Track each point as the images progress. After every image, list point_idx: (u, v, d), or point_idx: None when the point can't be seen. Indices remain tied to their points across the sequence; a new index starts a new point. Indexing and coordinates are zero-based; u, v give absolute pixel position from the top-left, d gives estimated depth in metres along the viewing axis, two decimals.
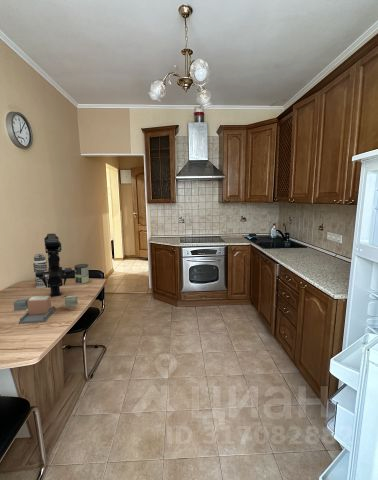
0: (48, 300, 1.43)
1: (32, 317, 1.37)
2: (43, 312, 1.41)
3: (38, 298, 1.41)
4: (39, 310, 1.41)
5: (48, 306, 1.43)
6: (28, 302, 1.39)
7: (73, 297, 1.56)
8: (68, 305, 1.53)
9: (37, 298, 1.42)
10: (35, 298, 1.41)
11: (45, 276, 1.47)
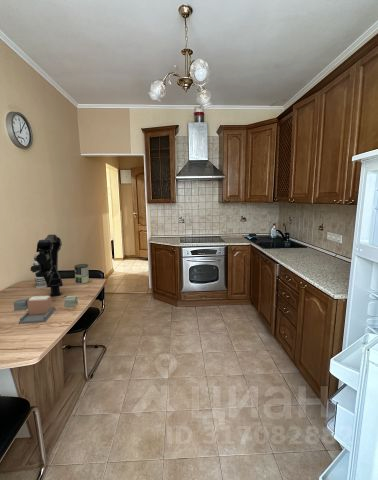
0: (48, 300, 1.43)
1: (32, 317, 1.37)
2: (43, 312, 1.41)
3: (38, 298, 1.41)
4: (39, 310, 1.41)
5: (48, 306, 1.43)
6: (28, 302, 1.39)
7: (73, 297, 1.56)
8: (68, 305, 1.53)
9: (37, 298, 1.42)
10: (35, 298, 1.41)
11: None
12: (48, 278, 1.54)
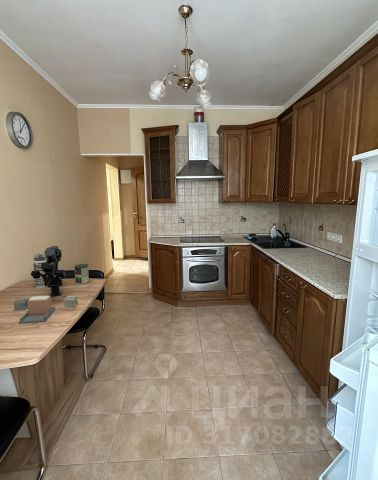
0: (48, 300, 1.43)
1: (32, 317, 1.37)
2: (43, 312, 1.41)
3: (38, 298, 1.41)
4: (39, 310, 1.41)
5: (48, 306, 1.43)
6: (28, 302, 1.39)
7: (73, 297, 1.56)
8: (68, 305, 1.53)
9: (37, 298, 1.42)
10: (35, 298, 1.41)
11: None
12: (50, 280, 1.55)
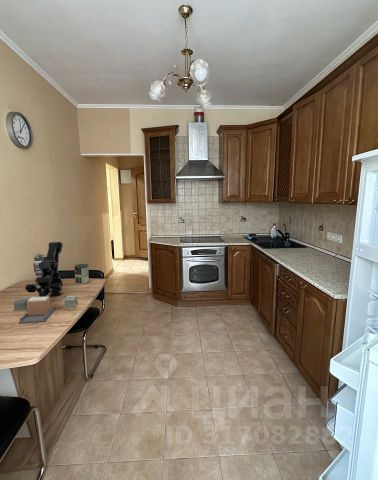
0: (47, 301, 1.42)
1: (32, 317, 1.37)
2: (42, 313, 1.40)
3: (37, 299, 1.39)
4: (39, 311, 1.39)
5: (47, 307, 1.42)
6: (27, 303, 1.38)
7: (73, 297, 1.56)
8: (68, 305, 1.53)
9: (36, 298, 1.41)
10: (34, 299, 1.40)
11: None
12: (45, 295, 1.48)
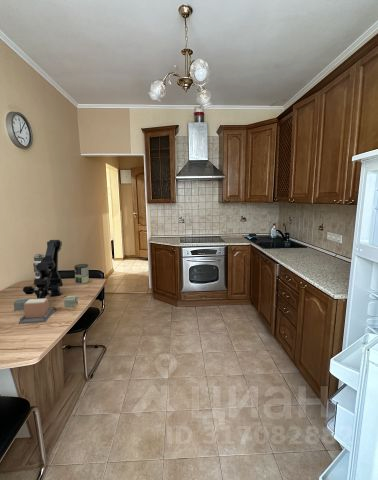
0: (45, 303, 1.39)
1: None
2: (40, 315, 1.37)
3: (35, 301, 1.37)
4: (36, 314, 1.36)
5: (45, 309, 1.39)
6: (25, 305, 1.35)
7: (73, 297, 1.56)
8: (68, 305, 1.53)
9: (34, 300, 1.38)
10: (32, 301, 1.37)
11: None
12: (43, 297, 1.45)
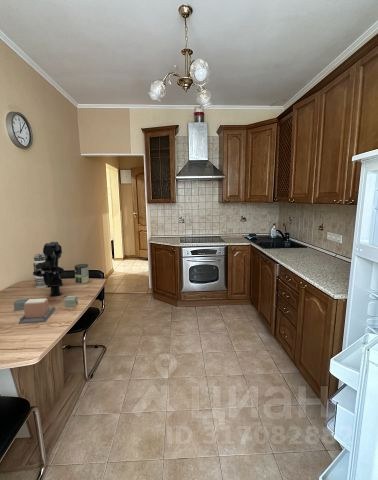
0: (45, 303, 1.39)
1: None
2: (40, 315, 1.37)
3: (35, 301, 1.37)
4: (36, 314, 1.36)
5: (45, 309, 1.39)
6: (25, 305, 1.35)
7: (73, 297, 1.56)
8: (68, 305, 1.53)
9: (34, 300, 1.38)
10: (32, 301, 1.37)
11: None
12: (50, 278, 1.56)
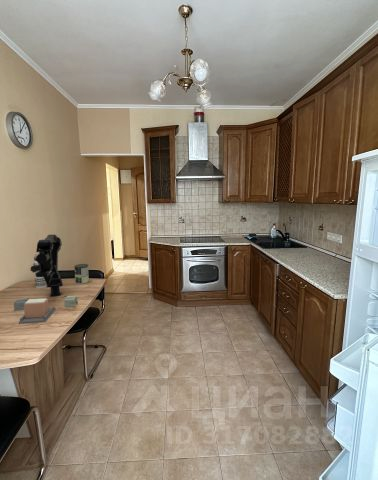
0: (45, 303, 1.39)
1: None
2: (40, 315, 1.37)
3: (35, 301, 1.37)
4: (36, 314, 1.36)
5: (45, 309, 1.39)
6: (25, 305, 1.35)
7: (73, 297, 1.56)
8: (68, 305, 1.53)
9: (34, 300, 1.38)
10: (32, 301, 1.37)
11: None
12: (48, 278, 1.54)
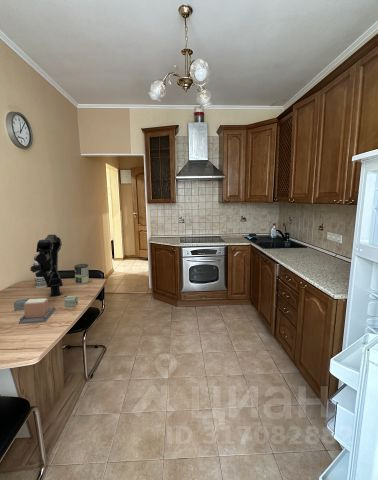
0: (45, 303, 1.39)
1: None
2: (40, 315, 1.37)
3: (35, 301, 1.37)
4: (36, 314, 1.36)
5: (45, 309, 1.39)
6: (25, 305, 1.35)
7: (73, 297, 1.56)
8: (68, 305, 1.53)
9: (34, 300, 1.38)
10: (32, 301, 1.37)
11: None
12: (48, 278, 1.54)
